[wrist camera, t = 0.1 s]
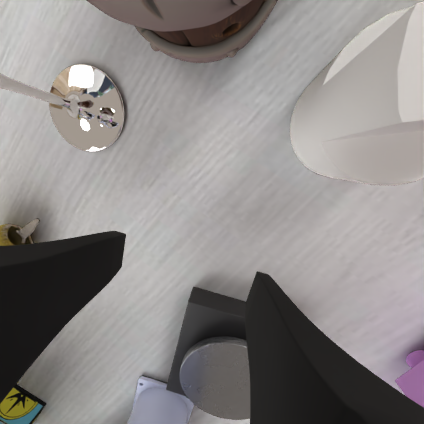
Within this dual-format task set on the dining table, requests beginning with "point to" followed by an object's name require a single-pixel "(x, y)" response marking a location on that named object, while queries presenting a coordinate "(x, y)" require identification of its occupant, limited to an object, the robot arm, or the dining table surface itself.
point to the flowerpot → (192, 24)
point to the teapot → (414, 378)
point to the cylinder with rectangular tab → (368, 106)
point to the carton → (20, 407)
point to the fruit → (17, 234)
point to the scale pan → (218, 377)
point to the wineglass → (80, 105)
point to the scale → (206, 326)
